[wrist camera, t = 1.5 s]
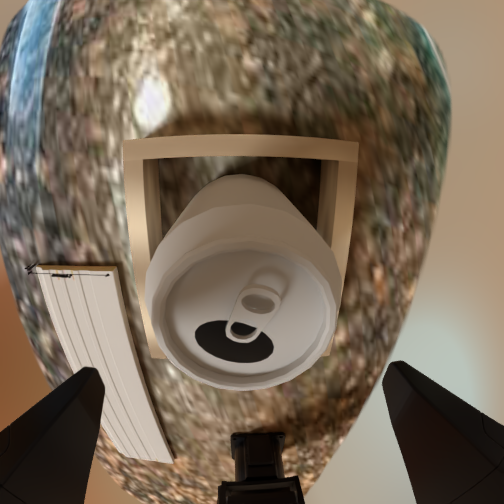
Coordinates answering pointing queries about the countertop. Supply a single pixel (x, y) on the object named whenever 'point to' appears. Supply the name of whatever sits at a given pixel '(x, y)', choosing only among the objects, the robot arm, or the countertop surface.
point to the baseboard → (105, 353)
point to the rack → (151, 149)
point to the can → (243, 287)
